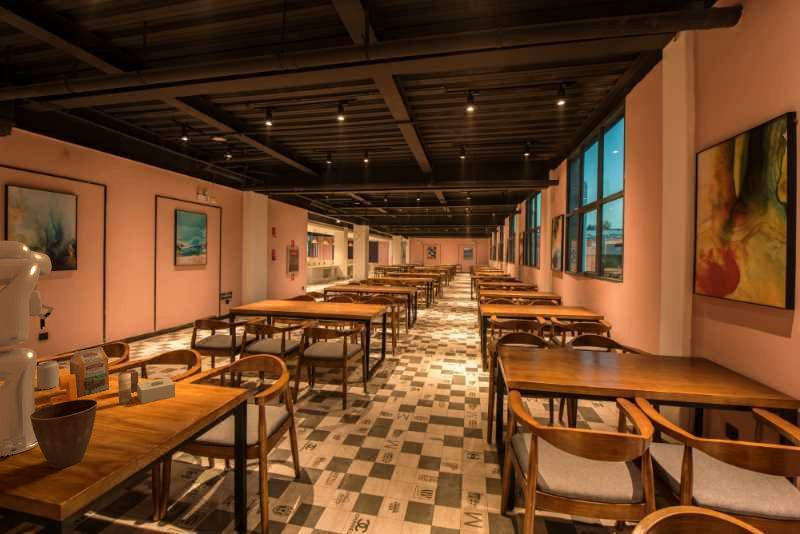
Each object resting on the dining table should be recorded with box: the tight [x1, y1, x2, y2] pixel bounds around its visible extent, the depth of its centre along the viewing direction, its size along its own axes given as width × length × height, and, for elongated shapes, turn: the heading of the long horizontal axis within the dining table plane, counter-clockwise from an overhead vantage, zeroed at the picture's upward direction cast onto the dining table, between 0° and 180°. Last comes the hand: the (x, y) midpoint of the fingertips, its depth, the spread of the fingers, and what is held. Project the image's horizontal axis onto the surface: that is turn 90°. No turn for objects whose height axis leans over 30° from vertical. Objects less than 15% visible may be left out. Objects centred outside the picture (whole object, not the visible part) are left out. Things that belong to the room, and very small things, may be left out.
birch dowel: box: [117, 373, 132, 406], centre depth 159 cm, size 4×4×12 cm
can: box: [36, 360, 60, 391], centre depth 177 cm, size 8×8×12 cm
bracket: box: [49, 374, 79, 405], centre depth 156 cm, size 11×7×12 cm, turn 49°
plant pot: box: [30, 398, 98, 469], centre depth 113 cm, size 15×15×16 cm
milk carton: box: [69, 346, 110, 398], centre depth 172 cm, size 11×11×19 cm
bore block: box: [136, 377, 176, 405], centre depth 166 cm, size 12×12×6 cm
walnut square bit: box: [118, 369, 139, 394], centre depth 171 cm, size 6×6×9 cm
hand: (25, 330), depth 155 cm, fingers open, 9 cm apart
